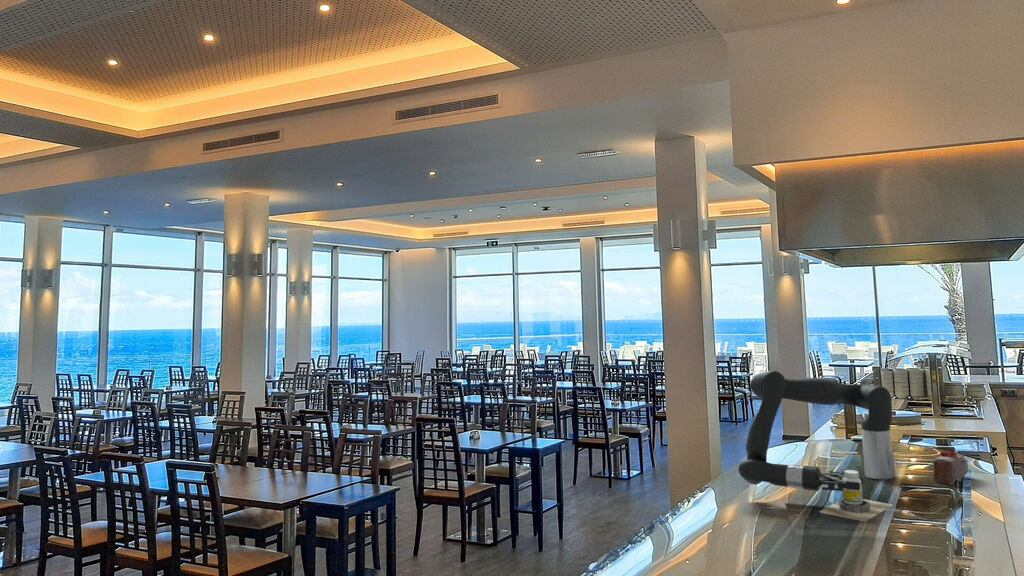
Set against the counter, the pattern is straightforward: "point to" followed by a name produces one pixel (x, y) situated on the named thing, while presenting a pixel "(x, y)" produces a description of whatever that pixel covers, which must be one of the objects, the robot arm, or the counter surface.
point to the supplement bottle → (849, 494)
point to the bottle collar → (856, 509)
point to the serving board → (874, 510)
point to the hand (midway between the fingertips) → (861, 483)
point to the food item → (949, 467)
